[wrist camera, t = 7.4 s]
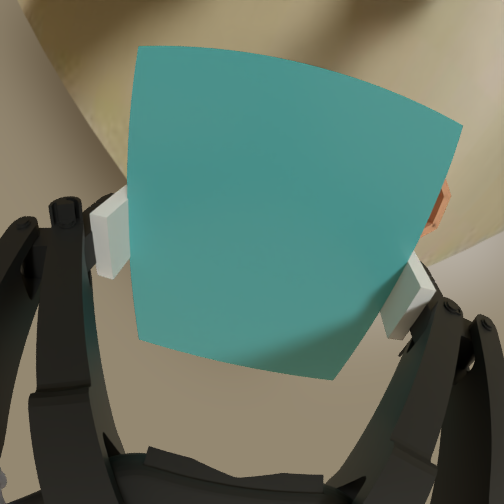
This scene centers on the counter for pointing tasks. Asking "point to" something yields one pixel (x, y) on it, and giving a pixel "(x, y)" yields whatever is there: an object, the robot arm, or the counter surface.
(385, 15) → the counter surface
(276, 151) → the board
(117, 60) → the counter surface
